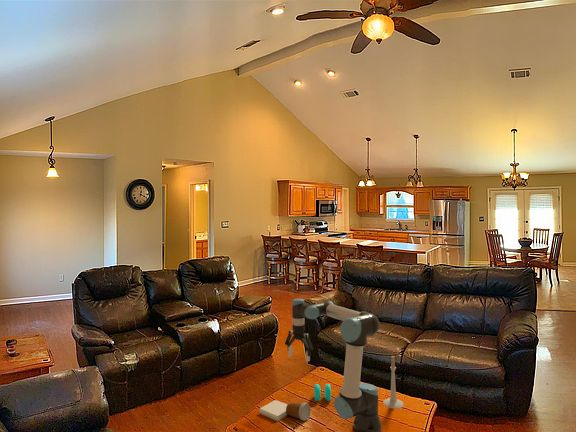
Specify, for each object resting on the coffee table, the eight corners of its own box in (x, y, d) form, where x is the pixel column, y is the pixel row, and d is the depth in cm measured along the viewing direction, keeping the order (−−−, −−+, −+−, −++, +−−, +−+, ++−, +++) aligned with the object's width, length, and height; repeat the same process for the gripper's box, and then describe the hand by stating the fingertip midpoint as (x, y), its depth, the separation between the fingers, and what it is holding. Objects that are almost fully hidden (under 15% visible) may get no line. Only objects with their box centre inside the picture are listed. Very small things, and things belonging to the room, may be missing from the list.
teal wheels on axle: (331, 404, 251) (331, 387, 251) (315, 404, 251) (314, 387, 251) (330, 396, 261) (329, 381, 261) (314, 396, 261) (314, 381, 261)
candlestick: (387, 398, 258) (386, 350, 258) (407, 403, 251) (406, 354, 250) (379, 406, 248) (378, 356, 247) (400, 411, 240) (399, 361, 240)
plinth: (293, 411, 242) (293, 406, 242) (277, 421, 231) (277, 416, 231) (275, 404, 251) (275, 399, 251) (259, 413, 240) (259, 408, 240)
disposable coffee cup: (283, 418, 233) (300, 421, 226) (284, 400, 236) (302, 402, 230) (293, 417, 240) (310, 420, 233) (294, 400, 243) (311, 402, 237)
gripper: (318, 326, 246) (319, 361, 246) (286, 319, 262) (286, 353, 262) (311, 329, 240) (312, 365, 240) (278, 322, 256) (279, 356, 256)
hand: (299, 358), depth 251 cm, fingers open, 13 cm apart
